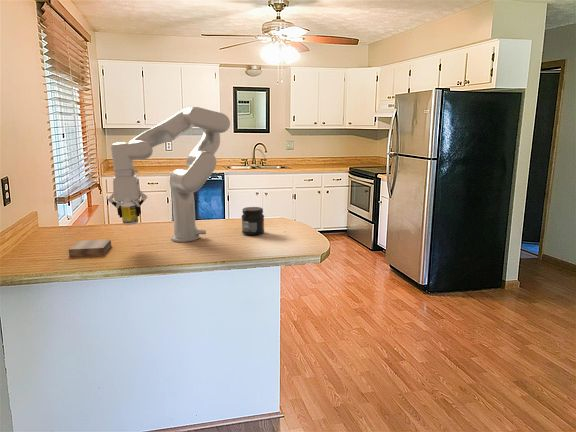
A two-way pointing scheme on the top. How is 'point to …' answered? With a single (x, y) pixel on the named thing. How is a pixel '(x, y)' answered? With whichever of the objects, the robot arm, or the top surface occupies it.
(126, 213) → the pill bottle
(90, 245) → the walnut base
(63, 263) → the top surface
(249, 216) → the supplement container
